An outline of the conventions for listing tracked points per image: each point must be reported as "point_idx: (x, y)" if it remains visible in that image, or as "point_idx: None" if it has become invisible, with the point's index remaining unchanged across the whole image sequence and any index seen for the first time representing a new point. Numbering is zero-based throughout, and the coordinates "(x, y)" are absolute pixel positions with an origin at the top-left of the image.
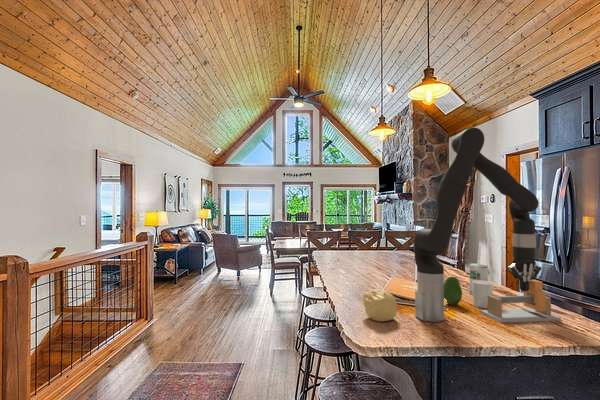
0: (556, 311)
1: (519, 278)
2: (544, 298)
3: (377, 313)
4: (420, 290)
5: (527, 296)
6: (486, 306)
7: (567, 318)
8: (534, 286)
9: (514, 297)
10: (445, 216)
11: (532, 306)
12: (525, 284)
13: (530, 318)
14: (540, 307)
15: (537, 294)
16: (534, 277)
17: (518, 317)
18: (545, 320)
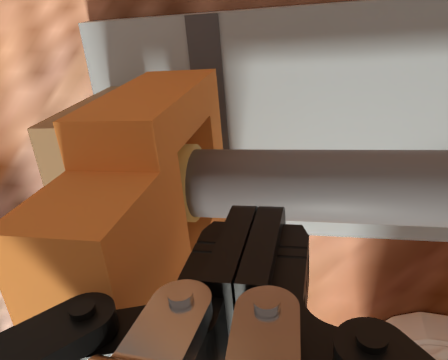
0: (9, 197)
1: (396, 346)
2: (111, 98)
3: None
4: None
5: (245, 186)
6: (444, 321)
7: (17, 65)
8: (137, 212)
9: (429, 178)
10: None
11: (217, 141)
12: (261, 256)
13: (342, 8)
14: (188, 76)
15: (166, 126)
16: (46, 322)
17: (435, 38)
18: (208, 12)
